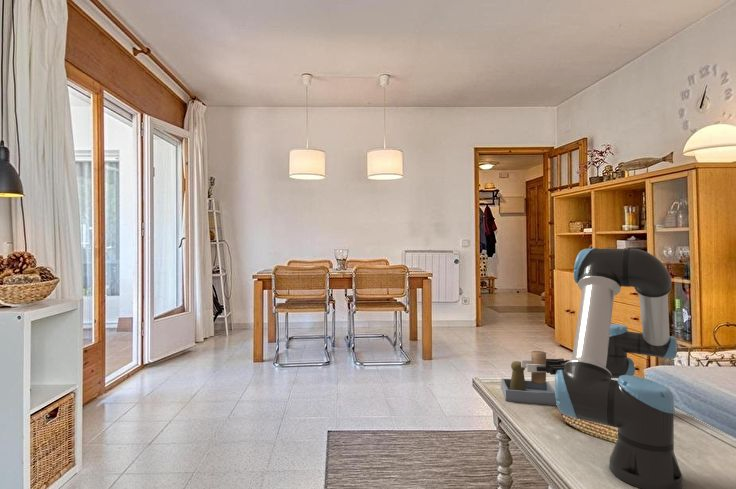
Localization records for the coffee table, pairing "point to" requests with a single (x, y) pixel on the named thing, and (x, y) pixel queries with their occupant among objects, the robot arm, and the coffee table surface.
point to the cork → (517, 377)
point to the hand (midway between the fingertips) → (524, 365)
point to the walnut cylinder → (538, 358)
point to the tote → (529, 393)
